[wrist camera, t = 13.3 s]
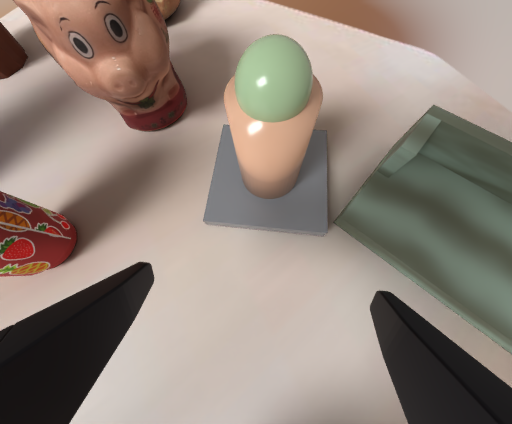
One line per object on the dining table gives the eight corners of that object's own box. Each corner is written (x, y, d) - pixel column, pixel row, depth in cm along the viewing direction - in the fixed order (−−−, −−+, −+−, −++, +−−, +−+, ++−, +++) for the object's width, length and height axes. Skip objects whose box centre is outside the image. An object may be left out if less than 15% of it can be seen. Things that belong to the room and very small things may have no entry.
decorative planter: (93, 79, 31) (-35, -70, 18) (162, 49, 32) (92, -107, 19) (137, 168, 25) (-6, 42, 12) (219, 124, 27) (174, -27, 13)
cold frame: (547, 380, 16) (702, 435, 10) (333, 222, 21) (358, 201, 16) (590, 256, 19) (729, 247, 13) (393, 145, 24) (433, 104, 18)
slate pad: (323, 236, 21) (327, 233, 19) (207, 224, 22) (203, 220, 20) (323, 138, 25) (326, 130, 24) (225, 132, 26) (223, 124, 25)
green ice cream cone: (299, 198, 21) (349, 85, 8) (240, 199, 21) (207, 91, 9) (295, 148, 23) (330, 0, 11) (242, 150, 23) (216, 8, 11)
